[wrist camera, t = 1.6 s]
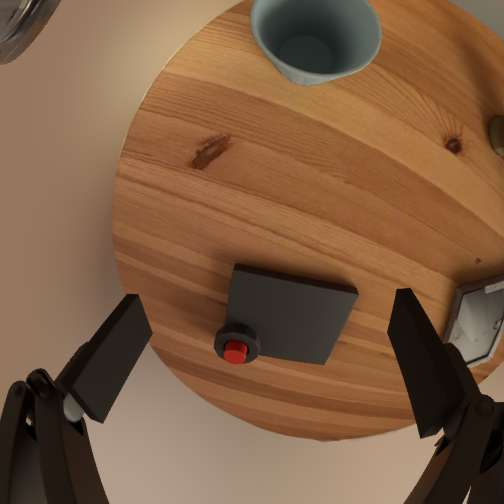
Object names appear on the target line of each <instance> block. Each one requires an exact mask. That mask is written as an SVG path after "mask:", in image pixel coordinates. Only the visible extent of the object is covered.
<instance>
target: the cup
mask: <svg viewBox="0 0 504 504" xmlns="http://www.w3.org/2000/svg"><path fill="white" fill-rule="evenodd" d="M250 26H251V30H252V33H253V36H254V38H255V40H256V42H257V44H258V45H259V47H260V48H261V49H262V50H263V52H264V53H265V54H266V55H267V56H268V57H269V59H270V60H271V61H272V62H273V63H274V65H275V66H276V67H277V69H278V70H279V71H280V72H281V74H282V75H283V76H284V77H286V78H287V79H289V80H290V81H291V82H293V83H296V84H300V85H304V86H312V85H318V84H321V83H325V82H328V81H331V80H334V79H337V78H341V77H344V76H348V75H351V74H353V73H356V72H358V71H360V70H361V69H363V68H364V67H366V66H367V65H368V64H369V63H370V62H371V61H372V60H373V59H374V57H375V56H376V54H377V53H378V50H379V48H380V45H381V38H382V31H381V25H380V21H379V19H378V16H377V14H376V12H375V10H374V9H373V7H372V6H371V5H370V3H369V2H368V1H367V0H255V1H254V3H253V5H252V8H251V13H250Z"/></svg>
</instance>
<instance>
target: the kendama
mask: <svg viewBox="0 0 504 504" xmlns="http://www.w3.org/2000/svg"><path fill="white" fill-rule="evenodd" d="M488 133H489V140H490V144H491V147H492V149H493V150H494V152H495V153H496V154H497V155H500V156H502V157H504V116H502V115H495V116H494V117H492V118H491V121H490V123H489V132H488Z"/></svg>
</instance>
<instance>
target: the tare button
mask: <svg viewBox="0 0 504 504" xmlns="http://www.w3.org/2000/svg"><path fill="white" fill-rule="evenodd" d="M246 353H247V346H246V344H245V343H243V342H242V341H238V340H231V341H229V342H228V343H227V344H226V348H225V351H224V358H225V360H226V361H227V362H229V363H231V364H241V363H243V362H244V361H245V359H246Z"/></svg>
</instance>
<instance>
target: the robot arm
mask: <svg viewBox="0 0 504 504" xmlns="http://www.w3.org/2000/svg"><path fill="white" fill-rule="evenodd" d="M36 1H37V0H0V43H2V42H4V41H5V40H7V39H8V38H9V37H10V36H11V35H12V34H13V33H14V32H15V31H16V30H17V29H18V27H19V26H20V25H21V24H22V22H23V21H24V20H25V18H26V17H27V15H28V14H29V12H30V11H31V9H32V8H33V6H34V4H35V3H36ZM387 333H388V336H389V339H390V341H391V344H392V347H393V349H394V352H395V355H396V358H397V361H398V364H399V367H400V370H401V373H402V376H403V379H404V382H405V385H406V388H407V392H408V395H409V398H410V402H411V405H412V409H413V412H414V416H415V420H416V423H417V427H418V431H419V435H420V439H422V438H425V437H429V436H432V435H436V434H437V433H438V432H439V431H440V430H441V428H442V427H443V430H444V433H445V434H444V435H443V436H442V437H441V438H440V439H439V440H438V441H437V443H436V444H435V446H437V445H438V446H437V448H436V450H435V452H434V454H433V456H432V458H431V460H430V462H429V464H428V465H427V467H426V469H425V471H424V472H423V474H422V476H421V478H420V479H419V481H418V482H417V484H416V486H415V487H414V489H413V491H412V492H411V493H410V495H409V496H408V498H407V499H406V501H405V502H404V504H462V503H463V501H464V499H465V497H466V495H467V493H468V491H469V489H470V487H471V489H470V493H469V497H468V500H467V504H504V402H494V400H493V399H492V398H491V397H489V396H488V395H484V394H481V392H480V390H479V388H478V386H477V384H476V382H475V379H474V377H473V375H472V373H471V371H470V369H469V367H467V363H466V362H465V360H464V358H463V356H462V354H461V352H460V350H459V349H458V348H457V347H456V346H455V345H454V344H452V343H451V342H449V343H444V344H443V343H442V342H441V340H440V338H439V336H438V334H437V332H436V330H435V329H434V327H433V325H432V323H431V322H430V320H429V318H428V316H427V315H426V313H425V311H424V309H423V308H422V306H421V304H420V303H419V301H418V299H417V298H416V296H415V295H414V293H413V291H412V290H411V288H404V289H397V291H396V296H395V300H394V305H393V310H392V314H391V318H390V323H389V327H388V331H387ZM152 334H153V332H152V330H151V327H150V325H149V322H148V319H147V317H146V314H145V311H144V309H143V306H142V303H141V300H140V297H139V294H127V295H126V296H125V297H124V298H123V300H122V301H121V302H120V303H119V304H118V306H117V307H116V308H115V309H114V311H113V312H112V313H111V314H110V315H109V317H108V318H107V319H106V320H105V322H104V323H103V324H102V325H101V327H100V328H99V329H98V331H97V332H96V333H95V334H94V336H93V337H92V338H91V340H90V341H89V342H86V343H85V344H83V345H82V346H81V347H79V349H78V350H77V351H76V352H75V354H74V356H72V358H71V359H70V362H68V363H67V364H66V366H65V367H64V369H63V370H62V371H61V373H60V374H59V375H58V377H57V378H56V380H55V381H53V380H52V378H51V377H50V376H49V374H48V373H47V371H46V370H45V369H42V368H40V369H36V370H34V371H32V372H31V373H30V374H29V375H28V377H27V379H26V383H25V382H24V381H17V382H15V383H13V384H12V386H11V387H10V389H9V391H8V394H7V398H6V401H5V404H4V408H3V412H2V415H1V419H0V504H109V501H108V499H107V496H106V494H105V491H104V488H103V485H102V482H101V479H100V476H99V473H98V470H97V467H96V463H95V460H94V457H93V453H92V449H91V445H90V441H89V437H88V432H87V427H86V423H85V420H84V418H83V417H82V416H83V414H84V412H85V413H86V414H87V415H88V416H89V418H90V419H92V420H95V421H97V422H100V423H104V421H105V419H106V417H107V415H108V413H109V411H110V409H111V407H112V405H113V404H114V402H115V400H116V398H117V396H118V394H119V392H120V391H121V389H122V387H123V385H124V383H125V381H126V380H127V377H128V376H129V374H130V372H131V371H132V369H133V367H134V365H135V364H136V362H137V360H138V358H139V356H140V355H141V353H142V351H143V350H144V348H145V346H146V344H147V343H148V341H149V339H150V337H151V336H152ZM26 384H27V385H28V386H29V387H30V388H29V387H28V386H27V385H26ZM26 418H28V419H29V420H30V421H31V425H28V424H27V423H26Z"/></svg>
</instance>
